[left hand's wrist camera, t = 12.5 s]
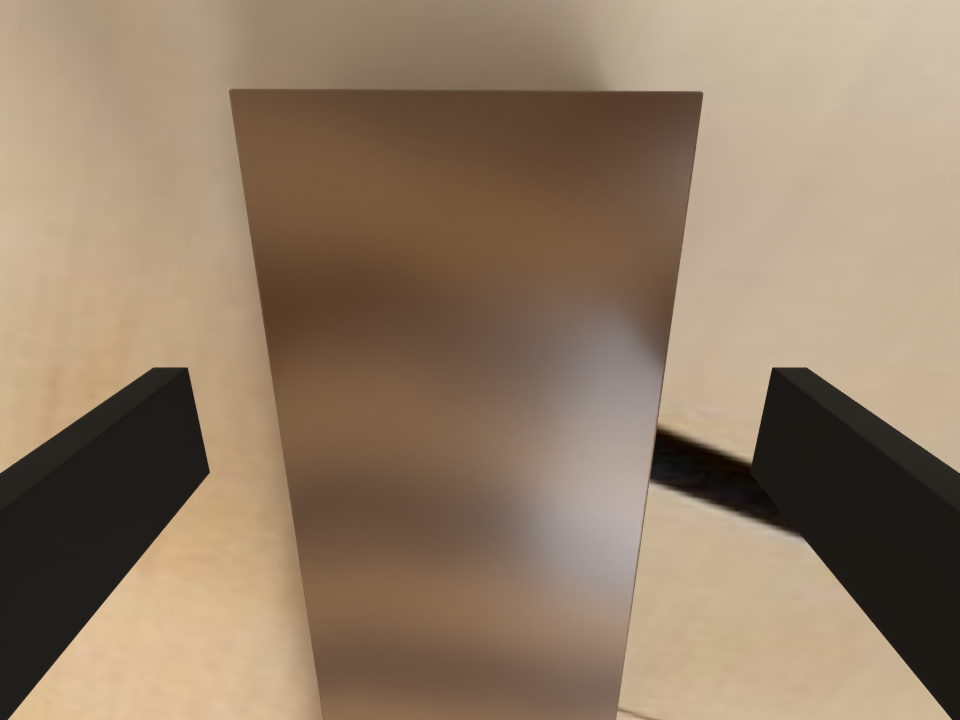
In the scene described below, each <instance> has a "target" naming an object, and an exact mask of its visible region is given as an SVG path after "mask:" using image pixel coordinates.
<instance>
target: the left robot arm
mask: <svg viewBox="0 0 960 720" xmlns="http://www.w3.org/2000/svg"><path fill="white" fill-rule="evenodd" d="M209 473H210V471H209V466H208V462H207V457H206V452H205V447H204V443H203V438H202V433H201V428H200V424H199V419H198V414H197V409H196V405H195V400H194V395H193V391H192V386H191V381H190V376H189V372H188V368H152V369H151V370H149V371H148V372H146V373H145V374H143V375H142V376H141V377H139V378H138V379H136V380H135V381H133V382H132V383H130V384H129V385H128V386H126V387H125V388H123V389H122V390H120V391H119V392H117V393H116V394H115V395H113V396H112V397H110V398H109V399H107V400H106V401H104V402H103V403H102V404H100V405H99V406H97V407H96V408H94V409H93V410H91V411H90V412H88V413H87V414H86V415H84V416H83V417H81V418H80V419H78V420H77V421H75V422H74V423H73V424H71V425H70V426H68V427H67V428H65V429H64V430H62V431H61V432H60V433H58V434H57V435H55V436H54V437H52V438H51V439H49V440H48V441H47V442H45V443H44V444H42V445H41V446H39V447H38V448H36V449H35V450H33V451H32V452H31V453H29V454H28V455H26V456H25V457H23V458H22V459H20V460H19V461H18V462H16V463H15V464H13V465H12V466H10V467H9V468H7V469H6V470H5V471H3V472H2V473H0V720H8V719H9V718H10V716H11V715H12V714H13V713H14V711H15V710H16V709H17V708H18V707H19V705H20V704H21V703H22V702H23V700H24V699H25V698H26V697H27V696H28V694H29V693H30V692H31V691H32V689H33V688H34V687H35V686H36V685H37V683H38V682H39V681H40V680H41V678H42V677H43V676H44V675H45V674H46V672H47V671H48V670H49V669H50V667H51V666H52V665H53V664H54V663H55V661H56V660H57V659H58V658H59V656H60V655H61V654H62V653H63V652H64V650H65V649H66V648H67V647H68V645H69V644H70V643H71V642H72V641H73V639H74V638H75V637H76V636H77V634H78V633H79V632H80V631H81V630H82V628H83V627H84V626H85V625H86V623H87V622H88V621H89V620H90V619H91V617H92V616H93V615H94V614H95V612H96V611H97V610H98V609H99V608H100V606H101V605H102V604H103V603H104V601H105V600H106V599H107V598H108V596H109V595H110V594H111V593H112V592H113V590H114V589H115V588H116V587H117V585H118V584H119V583H120V582H121V581H122V579H123V578H124V577H125V576H126V574H127V573H128V572H129V571H130V570H131V568H132V567H133V566H134V565H135V563H136V562H137V561H138V560H139V559H140V557H141V556H142V555H143V554H144V552H145V551H146V550H147V549H148V548H149V546H150V545H151V544H152V543H153V541H154V540H155V539H156V538H157V537H158V535H159V534H160V533H161V532H162V530H163V529H164V528H165V527H166V526H167V524H168V523H169V522H170V521H171V519H172V518H173V517H174V516H175V515H176V513H177V512H178V511H179V510H180V508H181V507H182V506H183V505H184V504H185V502H186V501H187V500H188V499H189V497H190V496H191V495H192V494H193V493H194V491H195V490H196V489H197V488H198V486H199V485H200V484H201V483H202V481H203V480H204V479H205V478H206V477H207V475H208V474H209ZM750 473H751V474H752V475H753V477H754V478H755V479H756V480H757V481H758V483H759V484H760V485H761V486H762V488H763V489H764V490H765V491H766V493H767V494H768V495H769V496H770V497H771V499H772V500H773V501H774V502H775V504H776V505H777V506H778V507H779V508H780V510H781V511H782V512H783V513H784V515H785V516H786V517H787V518H788V519H789V521H790V522H791V523H792V524H793V526H794V527H795V528H796V529H797V530H798V532H799V533H800V534H801V535H802V537H803V538H804V539H805V540H806V541H807V543H808V544H809V545H810V546H811V548H812V549H813V550H814V551H815V552H816V554H817V555H818V556H819V557H820V559H821V560H822V561H823V562H824V563H825V565H826V566H827V567H828V568H829V570H830V571H831V572H832V573H833V574H834V576H835V577H836V578H837V579H838V581H839V582H840V583H841V584H842V585H843V587H844V588H845V589H846V590H847V592H848V593H849V594H850V595H851V596H852V598H853V599H854V600H855V601H856V603H857V604H858V605H859V606H860V608H861V609H862V610H863V611H864V612H865V614H866V615H867V616H868V617H869V619H870V620H871V621H872V622H873V623H874V625H875V626H876V627H877V628H878V630H879V631H880V632H881V633H882V634H883V636H884V637H885V638H886V639H887V641H888V642H889V643H890V644H891V645H892V647H893V648H894V649H895V650H896V652H897V653H898V654H899V655H900V656H901V658H902V659H903V660H904V661H905V663H906V664H907V665H908V666H909V667H910V669H911V670H912V671H913V672H914V674H915V675H916V676H917V677H918V678H919V680H920V681H921V682H922V683H923V685H924V686H925V687H926V688H927V689H928V691H929V692H930V693H931V694H932V696H933V697H934V698H935V699H936V700H937V702H938V703H939V704H940V705H941V707H942V708H943V709H944V710H945V711H946V713H947V714H948V715H949V716H950V718H951V719H952V720H960V473H958V472H957V471H955V470H954V469H953V468H951V467H950V466H948V465H947V464H945V463H944V462H942V461H941V460H940V459H938V458H937V457H935V456H934V455H932V454H931V453H929V452H928V451H927V450H925V449H924V448H922V447H921V446H919V445H918V444H916V443H915V442H913V441H912V440H911V439H909V438H908V437H906V436H905V435H903V434H902V433H900V432H899V431H898V430H896V429H895V428H893V427H892V426H890V425H889V424H887V423H886V422H885V421H883V420H882V419H880V418H879V417H877V416H876V415H874V414H873V413H872V412H870V411H869V410H867V409H866V408H864V407H863V406H861V405H860V404H858V403H857V402H856V401H854V400H853V399H851V398H850V397H848V396H847V395H845V394H844V393H843V392H841V391H840V390H838V389H837V388H835V387H834V386H832V385H831V384H830V383H828V382H827V381H825V380H824V379H822V378H821V377H819V376H818V375H817V374H815V373H814V372H812V371H811V370H809V369H808V368H772V372H771V376H770V381H769V386H768V391H767V395H766V400H765V405H764V410H763V414H762V419H761V424H760V428H759V433H758V438H757V443H756V447H755V452H754V457H753V462H752V466H751V471H750Z"/></svg>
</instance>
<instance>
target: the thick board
mask: <svg viewBox="0 0 960 720" xmlns="http://www.w3.org/2000/svg"><path fill="white" fill-rule="evenodd" d="M229 94H230V101H231V108H232V114H233V121H234V128H235V134H236V141H237V148H238V154H239V161H240V168H241V174H242V181H243V188H244V194H245V201H246V208H247V214H248V221H249V228H250V234H251V241H252V248H253V254H254V261H255V268H256V274H257V281H258V288H259V294H260V301H261V307H262V314H263V321H264V327H265V334H266V341H267V347H268V354H269V361H270V367H271V374H272V381H273V387H274V394H275V401H276V407H277V414H278V421H279V427H280V434H281V441H282V447H283V454H284V461H285V467H286V474H287V481H288V487H289V494H290V501H291V507H292V514H293V521H294V527H295V534H296V541H297V547H298V554H299V561H300V567H301V574H302V581H303V587H304V594H305V601H306V607H307V614H308V621H309V627H310V634H311V641H312V647H313V654H314V661H315V667H316V674H317V681H318V687H319V694H320V701H321V707H322V714H323V720H616V716H617V709H618V702H619V695H620V688H621V680H622V673H623V666H624V659H625V652H626V645H627V637H628V630H629V623H630V616H631V609H632V601H633V594H634V587H635V580H636V573H637V566H638V558H639V551H640V544H641V537H642V530H643V523H644V515H645V508H646V501H647V494H648V487H649V480H650V472H651V465H652V458H653V451H654V444H655V436H656V429H657V422H658V415H659V408H660V401H661V393H662V386H663V379H664V372H665V365H666V358H667V350H668V343H669V336H670V329H671V322H672V315H673V307H674V300H675V293H676V286H677V279H678V271H679V264H680V257H681V250H682V243H683V236H684V228H685V221H686V214H687V207H688V200H689V193H690V185H691V178H692V171H693V164H694V157H695V150H696V142H697V135H698V128H699V121H700V114H701V106H702V99H703V92H701V91H538V90H352V89H231V90H229Z"/></svg>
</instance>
